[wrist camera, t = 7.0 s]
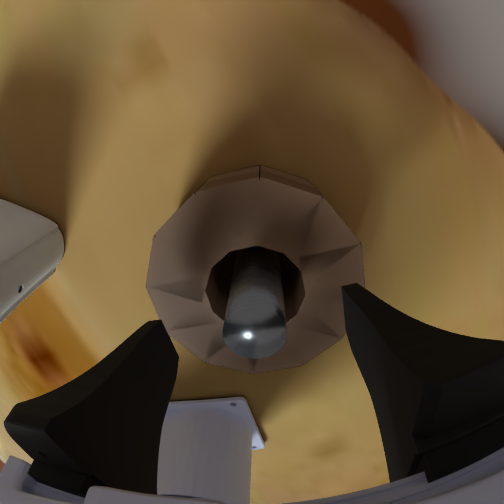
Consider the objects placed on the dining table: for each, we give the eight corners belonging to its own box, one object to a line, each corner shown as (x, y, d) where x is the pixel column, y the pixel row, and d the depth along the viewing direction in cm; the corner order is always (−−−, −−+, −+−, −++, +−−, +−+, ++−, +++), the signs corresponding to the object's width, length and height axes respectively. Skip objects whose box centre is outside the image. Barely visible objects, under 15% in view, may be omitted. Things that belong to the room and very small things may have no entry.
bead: (200, 338, 20) (189, 380, 16) (148, 194, 16) (118, 214, 13) (350, 311, 19) (367, 351, 15) (328, 151, 15) (349, 159, 11)
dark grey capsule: (245, 281, 18) (236, 364, 12) (230, 245, 17) (212, 317, 11) (284, 270, 18) (294, 349, 11) (271, 232, 17) (275, 300, 11)
